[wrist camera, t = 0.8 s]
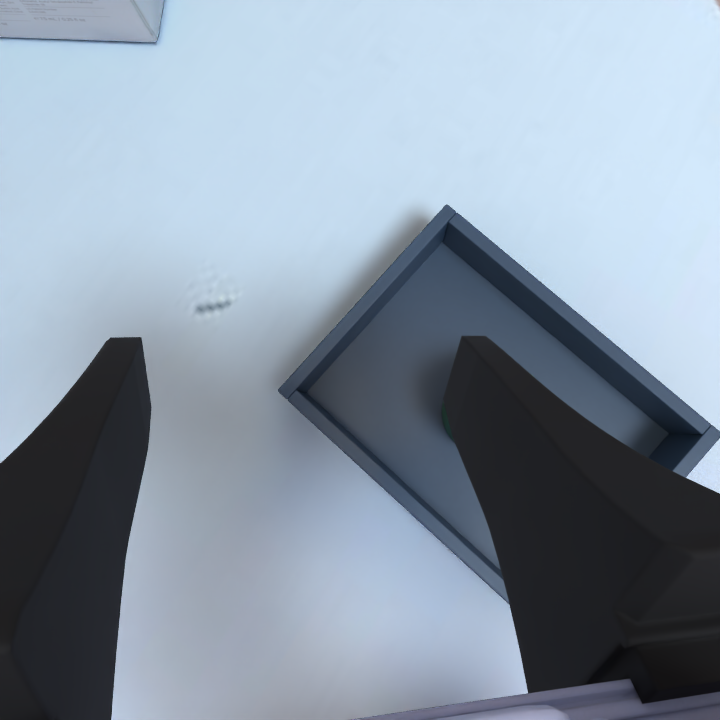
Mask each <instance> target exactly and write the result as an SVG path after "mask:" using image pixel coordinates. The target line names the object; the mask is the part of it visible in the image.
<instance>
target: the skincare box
mask: <svg viewBox="0 0 720 720" xmlns="http://www.w3.org/2000/svg"><path fill="white" fill-rule="evenodd" d="M163 4H164V0H0V37H15V38H43V39H72V40H104V41H132V42H156V41H157V38H158V35H159V27H160V21H161V16H162V10H163Z"/></svg>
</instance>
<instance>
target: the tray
mask: <svg viewBox="0 0 720 720" xmlns="http://www.w3.org/2000/svg"><path fill="white" fill-rule="evenodd" d="M461 336H487V337H488V338H489V339H491V340H492V341H493V342H494V343H496V344H497V345H498V346H499V347H500V348H501V349H503V350H504V351H505V352H506V353H507V354H508V355H509V356H511V357H512V358H513V359H514V360H515V361H516V362H517V363H519V364H520V365H521V366H522V367H523V368H524V369H525V370H527V371H528V372H529V373H530V374H531V375H533V376H534V377H535V378H536V379H537V380H538V381H539V382H541V383H542V384H543V385H544V386H545V387H546V388H548V389H549V390H550V391H551V392H553V393H554V394H555V395H556V396H557V397H559V398H560V399H561V400H562V401H564V402H565V403H566V404H568V405H569V406H570V407H572V408H573V409H574V410H576V411H577V412H578V413H579V414H581V415H582V416H583V417H585V418H586V419H588V420H589V421H590V422H592V423H593V424H595V425H596V426H597V427H599V428H600V429H602V430H604V431H605V432H607V433H608V434H610V435H611V436H613V437H614V438H616V439H617V440H619V441H620V442H622V443H623V444H625V445H627V446H628V447H630V448H632V449H633V450H635V451H637V452H638V453H640V454H642V455H644V456H646V457H647V458H649V459H651V460H653V461H655V462H656V463H658V464H660V465H662V466H664V467H665V468H667V469H669V470H671V471H673V472H675V473H677V474H679V475H681V476H683V477H685V478H686V477H687V475H688V474H689V473H690V472H691V471H692V470H693V468H694V467H695V466H696V465H697V464H698V463H699V461H700V460H701V459H702V458H703V457H704V456H705V454H706V453H707V452H708V451H709V450H710V449H711V447H712V446H713V445H714V444H715V443H716V442H717V440H718V439H719V438H720V431H719V430H717V429H716V428H715V427H714V426H713V425H711V424H710V423H709V422H708V421H706V420H705V419H704V418H703V417H702V416H700V415H699V414H698V413H697V412H696V411H694V410H693V409H692V408H691V407H690V406H688V405H687V404H686V403H685V402H684V401H682V400H681V399H680V398H679V397H678V396H677V395H675V394H674V393H673V392H672V391H671V390H669V389H668V388H667V387H666V386H665V385H663V384H662V383H661V382H660V381H659V380H657V379H656V378H655V377H654V376H653V375H651V374H650V373H649V372H648V371H647V370H645V369H644V368H643V367H642V366H641V365H639V364H638V363H637V362H636V361H635V360H633V359H632V358H631V357H630V356H629V355H627V354H626V353H625V352H624V351H623V350H621V349H620V348H619V347H618V346H617V345H615V344H614V343H613V342H612V341H611V340H609V339H608V338H607V337H606V336H605V335H603V334H602V333H601V332H600V331H599V330H597V329H596V328H595V327H594V326H593V325H591V324H590V323H589V322H588V321H587V320H585V319H584V318H583V317H582V316H581V315H579V314H578V313H577V312H576V311H575V310H573V309H572V308H571V307H570V306H569V305H567V304H566V303H565V302H564V301H563V300H561V299H560V298H559V297H558V296H557V295H555V294H554V293H553V292H552V291H551V290H549V289H548V288H547V287H546V286H545V285H543V284H542V283H541V282H540V281H539V280H537V279H536V278H535V277H534V276H533V275H531V274H530V273H529V272H528V271H527V270H525V269H524V268H523V267H522V266H521V265H519V264H518V263H517V262H516V261H515V260H513V259H512V258H511V257H510V256H509V255H508V254H506V253H505V252H504V251H503V250H502V249H500V248H499V247H498V246H497V245H496V244H494V243H493V242H492V241H491V240H490V239H488V238H487V237H486V236H485V235H484V234H482V233H481V232H480V231H479V230H478V229H476V228H475V227H474V226H473V225H472V224H470V223H469V222H468V221H467V220H466V219H464V218H463V217H462V216H461V215H460V214H458V213H456V211H455V210H453V209H452V208H451V207H450V206H449V205H445V206H444V207H443V208H442V210H441V211H440V212H439V213H438V214H437V215H436V216H435V217H434V218H433V219H432V221H431V222H430V223H429V224H428V225H427V226H426V227H425V228H424V229H423V231H422V232H421V233H420V234H419V235H418V236H417V237H416V238H415V239H414V240H413V242H412V243H411V244H410V245H409V246H408V247H407V248H406V249H405V250H404V251H403V253H402V254H401V255H400V256H399V257H398V258H397V259H396V260H395V261H394V263H393V264H392V265H391V266H390V267H389V268H388V269H387V270H386V271H385V272H384V274H383V275H382V276H381V277H380V278H379V279H378V280H377V281H376V282H375V283H374V285H373V286H372V287H371V288H370V289H369V290H368V291H367V292H366V293H365V294H364V296H363V297H362V298H361V299H360V300H359V301H358V302H357V303H356V304H355V306H354V307H353V308H352V309H351V310H350V311H349V312H348V313H347V314H346V315H345V317H344V318H343V319H342V320H341V321H340V322H339V323H338V324H337V325H336V326H335V328H334V329H333V330H332V331H331V332H330V333H329V334H328V335H327V336H326V338H325V339H324V340H323V341H322V342H321V343H320V344H319V345H318V346H317V347H316V349H315V350H314V351H313V352H312V353H311V354H310V355H309V356H308V357H307V358H306V360H305V361H304V362H303V363H302V364H301V365H300V366H299V367H298V368H297V369H296V371H295V372H294V373H293V374H292V375H291V376H290V377H289V378H288V379H287V381H286V382H285V383H284V384H283V385H282V386H281V387H280V388H279V389H278V392H279V393H280V394H281V395H283V396H284V397H285V398H286V399H288V401H289V402H290V403H291V404H292V405H293V406H294V407H296V408H297V409H298V410H299V411H300V412H301V413H302V414H303V415H304V416H305V417H306V418H307V419H309V420H310V421H311V422H312V423H313V424H314V425H315V426H316V427H317V428H318V429H319V430H321V431H322V432H323V433H324V434H325V435H326V436H327V437H328V438H329V439H330V440H331V441H332V442H334V443H335V444H336V445H337V446H338V447H339V448H340V449H341V450H342V451H343V452H344V453H345V454H347V455H348V456H349V457H350V458H351V459H352V460H353V461H354V462H355V463H356V464H357V465H359V466H360V467H361V468H362V469H363V470H364V471H365V472H366V473H367V474H368V475H369V476H370V477H372V478H373V479H374V480H375V481H376V482H377V483H378V484H379V485H380V486H381V487H382V488H384V489H385V490H386V491H387V492H388V493H389V494H390V495H391V496H392V497H393V498H394V499H395V500H397V501H398V502H399V503H400V504H401V505H402V506H403V507H404V508H405V509H406V510H407V511H409V512H410V513H411V514H412V515H413V516H414V517H415V518H416V519H417V520H418V521H419V522H420V523H422V524H423V525H424V526H425V527H426V528H427V529H428V530H429V531H430V532H431V533H432V534H434V535H435V536H436V537H437V538H438V539H439V540H440V541H441V542H442V543H443V544H444V545H445V546H447V547H448V548H449V549H450V550H451V551H452V552H453V553H454V554H455V555H456V556H457V557H458V558H460V559H461V560H462V561H463V562H464V563H465V564H466V565H467V566H468V567H469V568H470V569H472V570H473V571H474V572H475V573H476V574H477V575H478V576H479V577H480V578H481V579H482V580H483V581H485V582H486V583H487V584H488V585H489V586H490V587H491V588H492V589H493V590H494V591H495V592H497V593H498V594H499V595H500V596H501V597H502V598H503V599H504V600H505V601H506V602H507V603H508V604H509V600H508V596H507V592H506V588H505V584H504V580H503V576H502V573H501V569H500V565H499V561H498V558H497V554H496V551H495V547H494V544H493V540H492V537H491V533H490V530H489V527H488V524H487V521H486V519H485V516H484V513H483V511H482V508H481V506H480V503H479V501H478V498H477V496H476V493H475V491H474V489H473V486H472V484H471V481H470V479H469V476H468V474H467V471H466V469H465V467H464V464H463V462H462V459H461V457H460V454H459V452H458V449H457V447H456V444H455V442H454V441H453V440H452V439H451V438H450V437H449V435H448V433H447V432H446V429H445V427H444V424H443V420H442V404H443V401H444V400H443V397H444V394H445V390H446V387H447V384H448V380H449V377H450V373H451V370H452V367H453V363H454V360H455V356H456V353H457V350H458V346H459V343H460V339H461Z"/></svg>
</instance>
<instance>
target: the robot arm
mask: <svg viewBox="0 0 720 720" xmlns="http://www.w3.org/2000/svg"><path fill="white" fill-rule="evenodd" d="M443 400H444V405H445V409H446V413H447V418H448V422H449V425H450V429H451V433H452V436H453V439H454V441H455V444H456V447H457V449H458V452H459V454H460V457H461V459H462V462H463V464H464V467H465V469H466V471H467V474H468V476H469V479H470V481H471V484H472V486H473V489H474V491H475V493H476V496H477V498H478V501H479V503H480V506H481V508H482V511H483V513H484V516H485V519H486V521H487V524H488V527H489V530H490V533H491V537H492V540H493V544H494V547H495V551H496V554H497V558H498V561H499V565H500V569H501V573H502V576H503V580H504V584H505V588H506V592H507V596H508V600H509V604H510V608H511V613H512V617H513V621H514V626H515V630H516V635H517V639H518V643H519V648H520V653H521V658H522V663H523V669H524V674H525V679H526V684H527V689H528V694H521V695H515V696H508V697H501V698H494V699H487V700H481V701H474V702H467V703H460V704H453V705H446V706H440V707H433V708H426V709H419V710H412V711H406V712H399V713H392V714H385V715H378V716H372V717H365V718H358V719H351V720H720V494H719V493H717V492H715V491H713V490H710V489H708V488H706V487H704V486H702V485H700V484H698V483H696V482H693V481H691V480H689V479H687V478H685V477H683V476H681V475H679V474H677V473H675V472H673V471H671V470H669V469H667V468H665V467H664V466H662V465H660V464H658V463H656V462H655V461H653V460H651V459H649V458H647V457H646V456H644V455H642V454H640V453H638V452H637V451H635V450H633V449H632V448H630V447H628V446H627V445H625V444H623V443H622V442H620V441H619V440H617V439H616V438H614V437H613V436H611V435H610V434H608V433H607V432H605V431H604V430H602V429H600V428H599V427H597V426H596V425H595V424H593V423H592V422H590V421H589V420H588V419H586V418H585V417H583V416H582V415H581V414H579V413H578V412H577V411H576V410H574V409H573V408H572V407H570V406H569V405H568V404H566V403H565V402H564V401H562V400H561V399H560V398H559V397H557V396H556V395H555V394H554V393H553V392H551V391H550V390H549V389H548V388H546V387H545V386H544V385H543V384H542V383H541V382H539V381H538V380H537V379H536V378H535V377H533V376H532V375H531V374H530V373H529V372H528V371H527V370H525V369H524V368H523V367H522V366H521V365H520V364H519V363H517V362H516V361H515V360H514V359H513V358H512V357H511V356H509V355H508V354H507V353H506V352H505V351H504V350H503V349H501V348H500V347H499V346H498V345H497V344H496V343H494V342H493V341H492V340H491V339H489V338H488V337H487V336H461V339H460V343H459V346H458V350H457V353H456V356H455V360H454V363H453V367H452V370H451V373H450V377H449V380H448V384H447V387H446V390H445V394H444V397H443ZM150 419H151V401H150V394H149V387H148V380H147V373H146V366H145V359H144V352H143V345H142V339H141V337H124V338H110V339H109V340H107V341H106V342H105V344H104V345H103V347H102V348H101V350H100V351H99V352H98V354H97V355H96V357H95V358H94V359H93V361H92V362H91V363H90V365H89V366H88V368H87V369H86V370H85V371H84V373H83V374H82V375H81V377H80V378H79V379H78V381H77V382H76V383H75V384H74V385H73V387H72V388H71V389H70V390H69V392H68V393H67V394H66V395H65V396H64V398H63V399H62V400H61V401H60V403H59V404H58V405H57V406H56V407H55V408H54V409H53V411H52V412H51V413H50V414H49V415H48V416H47V417H46V418H45V419H44V420H43V421H42V422H41V424H40V425H39V426H38V427H37V428H36V429H35V430H34V431H33V432H32V433H31V434H30V435H29V436H28V437H27V438H26V440H24V441H23V442H22V443H21V444H20V445H19V446H18V447H17V448H16V449H15V450H14V451H13V452H12V453H11V454H10V455H9V456H8V457H7V458H6V459H5V460H4V461H2V462H1V463H0V720H111V714H112V699H113V687H114V674H115V662H116V649H117V638H118V628H119V617H120V606H121V596H122V587H123V577H124V568H125V559H126V553H127V547H128V541H129V536H130V531H131V526H132V522H133V517H134V512H135V508H136V503H137V498H138V494H139V489H140V485H141V480H142V475H143V470H144V466H145V461H146V456H147V451H148V443H149V432H150Z"/></svg>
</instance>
